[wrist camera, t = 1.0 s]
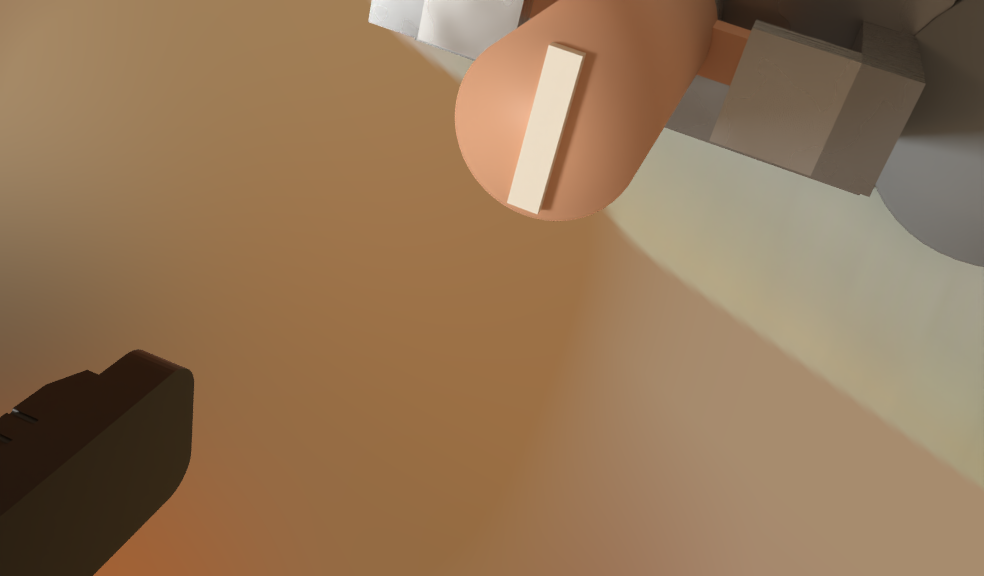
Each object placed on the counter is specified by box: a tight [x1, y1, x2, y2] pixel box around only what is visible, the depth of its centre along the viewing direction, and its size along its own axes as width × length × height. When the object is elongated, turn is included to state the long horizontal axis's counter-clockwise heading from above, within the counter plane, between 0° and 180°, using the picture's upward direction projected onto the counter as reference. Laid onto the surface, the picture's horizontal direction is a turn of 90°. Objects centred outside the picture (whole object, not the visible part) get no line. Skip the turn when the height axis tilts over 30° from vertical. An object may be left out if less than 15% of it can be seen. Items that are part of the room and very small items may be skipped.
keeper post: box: [369, 0, 956, 197], centre depth 31 cm, size 8×18×7 cm, turn 76°
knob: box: [455, 0, 751, 221], centre depth 26 cm, size 5×9×12 cm, turn 77°
